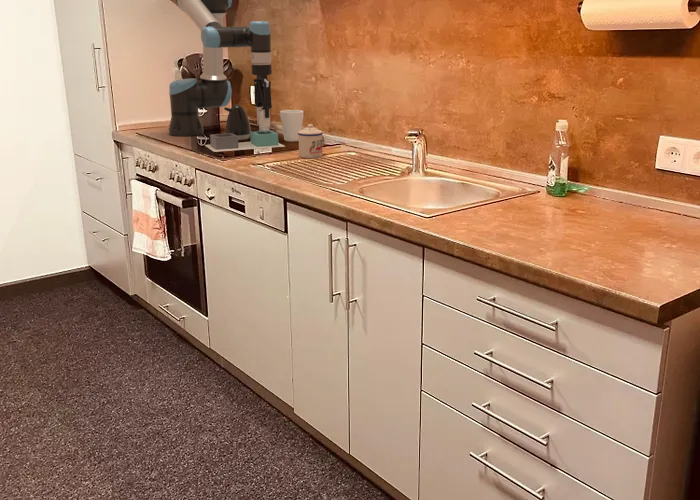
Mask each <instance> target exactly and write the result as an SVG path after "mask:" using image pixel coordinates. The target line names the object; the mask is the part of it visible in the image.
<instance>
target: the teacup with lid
mask: <svg viewBox="0 0 700 500" xmlns="http://www.w3.org/2000/svg"><path fill="white" fill-rule="evenodd" d="M323 134H324V133H323V131H322V130H320V129H318V128H317V127H314V125H313V124H310V123H309V124H307V127H304V128H302V130H300V131H299V132H298V135H299V141H298V156H299V157H300V158H304V159H318V158H321V157H322V156H323V147H324V144H325V136H324V135H323Z"/></svg>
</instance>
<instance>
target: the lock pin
mask: <svg viewBox="0 0 700 500" xmlns="http://www.w3.org/2000/svg"><path fill="white" fill-rule="evenodd" d="M258 131H259V134H270V132H269V131H270V126H267V127H263V113H262V110H259V124H258Z"/></svg>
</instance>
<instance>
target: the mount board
mask: <svg viewBox="0 0 700 500" xmlns="http://www.w3.org/2000/svg"><path fill="white" fill-rule="evenodd" d="M209 138H210V139H209V140H210V144H204V146H205V147H206V148H208V149H209V150H211V151H212V152H213V153H215V152H216V153H217V152H218V153H219V152H228V151H229V152H230V151H232V152H233V151H243V150H257V149H270V148H281V147H282V148H284V147H286V145H284V144H281V143H280V142H278V144H279V145H273V146H260V147H257V146H255V145H253V144H251V141H241V142H239V140H238V136H236V135H235V134H233V133H226V132H225V133H216V134H215V133H214V134H209Z"/></svg>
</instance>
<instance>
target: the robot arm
mask: <svg viewBox="0 0 700 500" xmlns="http://www.w3.org/2000/svg"><path fill="white" fill-rule="evenodd" d="M174 1H175V4H176V5H177V7H178V8H179V9H180V10H181V11H182V12H185V13H186V14H187V16H188V17H189V18H190V19H191V20H192V22H193V23H194V24H195V25H196V27H197V28H198V29H199V30H200V40H201V42H202V43H201V44H202V64H203V65H202V69H203V71H202V73H201V75H200V76H199V81H197V79H196V78H192V77H191V78H181V79H178V80H173V81H171V82H170V83H169V91H168V92H169V93H168V94H169V101H170V103H169V104H170V113H171V117H170V122H169V127H168V135H169V136H176V137H193V136H201V135H203V134H204V133H205V131H204V126H203V124H202V121H201V119H200V115H199V109H209V108H210V109H211V108H212V109H213V108H216V109H218V108H221V107H222V108H223V107H224V108H225V107H226V106H228V105H229V103H230V101H231V99H232V96H233V94H232V84H231V82H230V81H229V80H227V78H228V77H227V76H226V75H225V74H224V48H250V55H249V57H250V58H251V61H250V62H251V64H252V65H251V75H253V76H256V78H254V79H253V85H254V86H253V87H254V91H253V92H254V93H253V94H254V105H255V106H256V121H257V125H259V110H262V113H263V127H267V126H269V127H271V113H270V112H271V111H270V110H271V109H272V108H273V106H272V105H273V104H272V91H271V87H272V86H271V84H272V83H271V81H269V79H268V76H271V75H272V70H273V69H272V65H271V63H272V50H271V49H272V47H271V45H272V44H271V43H272V42H271V39H272V38H271V33H272V31H271V26H270V22H269V21H267V20H265V21H264V20H261V21H260V20H258V21H256V20H254V21H253V20H252V21H250V23H249V25H247V26H246V25H244V26H224V17H225V16H226V15H227V10H228V9H229V8H231V7H232V2H233V0H174Z"/></svg>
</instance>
